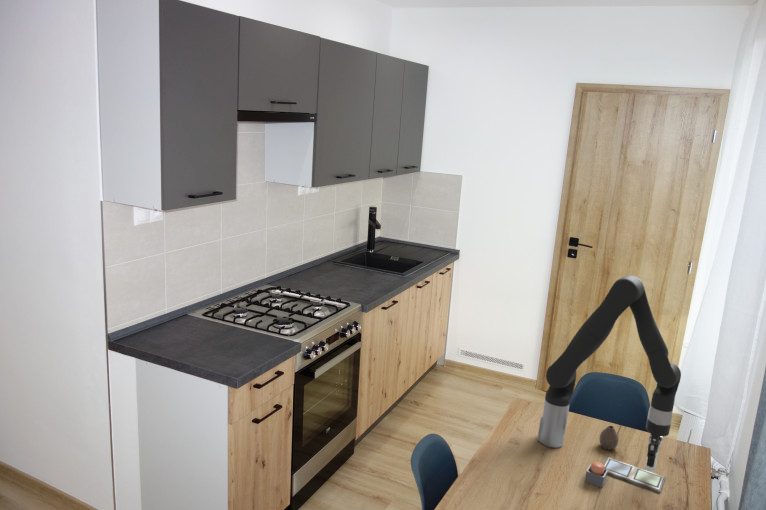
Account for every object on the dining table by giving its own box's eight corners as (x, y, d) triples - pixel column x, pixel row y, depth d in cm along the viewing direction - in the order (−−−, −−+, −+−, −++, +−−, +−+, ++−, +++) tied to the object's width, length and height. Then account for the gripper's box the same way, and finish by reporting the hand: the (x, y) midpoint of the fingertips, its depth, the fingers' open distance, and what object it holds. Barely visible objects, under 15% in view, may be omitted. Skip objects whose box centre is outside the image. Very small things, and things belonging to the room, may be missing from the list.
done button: (588, 474, 211) (590, 465, 211) (591, 468, 215) (593, 460, 214) (601, 479, 209) (603, 470, 208) (604, 473, 213) (606, 464, 212)
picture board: (600, 471, 218) (600, 469, 218) (607, 458, 228) (607, 456, 227) (659, 493, 208) (660, 490, 208) (664, 478, 217) (665, 476, 217)
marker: (643, 469, 214) (649, 441, 211) (645, 465, 217) (650, 437, 214) (654, 473, 212) (660, 444, 209) (656, 468, 215) (661, 440, 212)
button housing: (584, 481, 212) (586, 471, 211) (589, 473, 217) (590, 463, 216) (602, 487, 209) (604, 477, 208) (606, 480, 214) (608, 469, 213)
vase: (618, 453, 232) (622, 432, 230) (599, 450, 233) (603, 429, 231) (615, 444, 239) (619, 424, 237) (597, 441, 240) (600, 421, 238)
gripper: (651, 408, 218) (643, 452, 222) (644, 423, 206) (635, 468, 210) (674, 415, 214) (665, 459, 218) (668, 430, 202) (659, 476, 206)
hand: (650, 463), depth 214 cm, fingers closed on marker, 3 cm apart
